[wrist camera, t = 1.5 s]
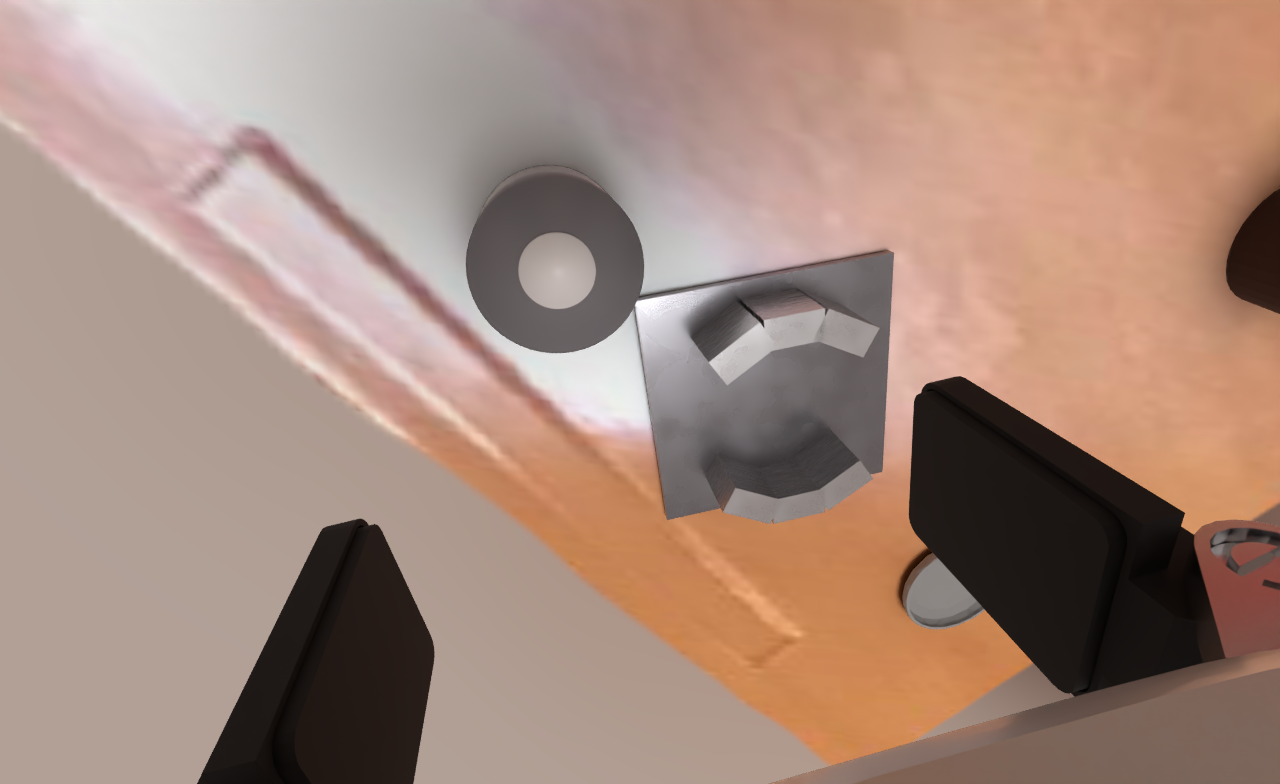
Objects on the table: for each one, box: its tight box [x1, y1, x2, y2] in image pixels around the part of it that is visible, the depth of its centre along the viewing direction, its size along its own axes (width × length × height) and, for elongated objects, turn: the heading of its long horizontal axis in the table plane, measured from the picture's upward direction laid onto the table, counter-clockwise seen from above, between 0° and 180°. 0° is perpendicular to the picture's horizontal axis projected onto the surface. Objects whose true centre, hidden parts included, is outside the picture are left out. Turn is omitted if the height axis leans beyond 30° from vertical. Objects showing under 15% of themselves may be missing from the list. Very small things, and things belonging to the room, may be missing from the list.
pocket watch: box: [902, 553, 985, 629], centre depth 33 cm, size 8×8×10 cm
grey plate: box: [634, 251, 894, 524], centre depth 28 cm, size 12×12×4 cm
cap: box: [466, 165, 644, 353], centre depth 22 cm, size 6×6×5 cm
